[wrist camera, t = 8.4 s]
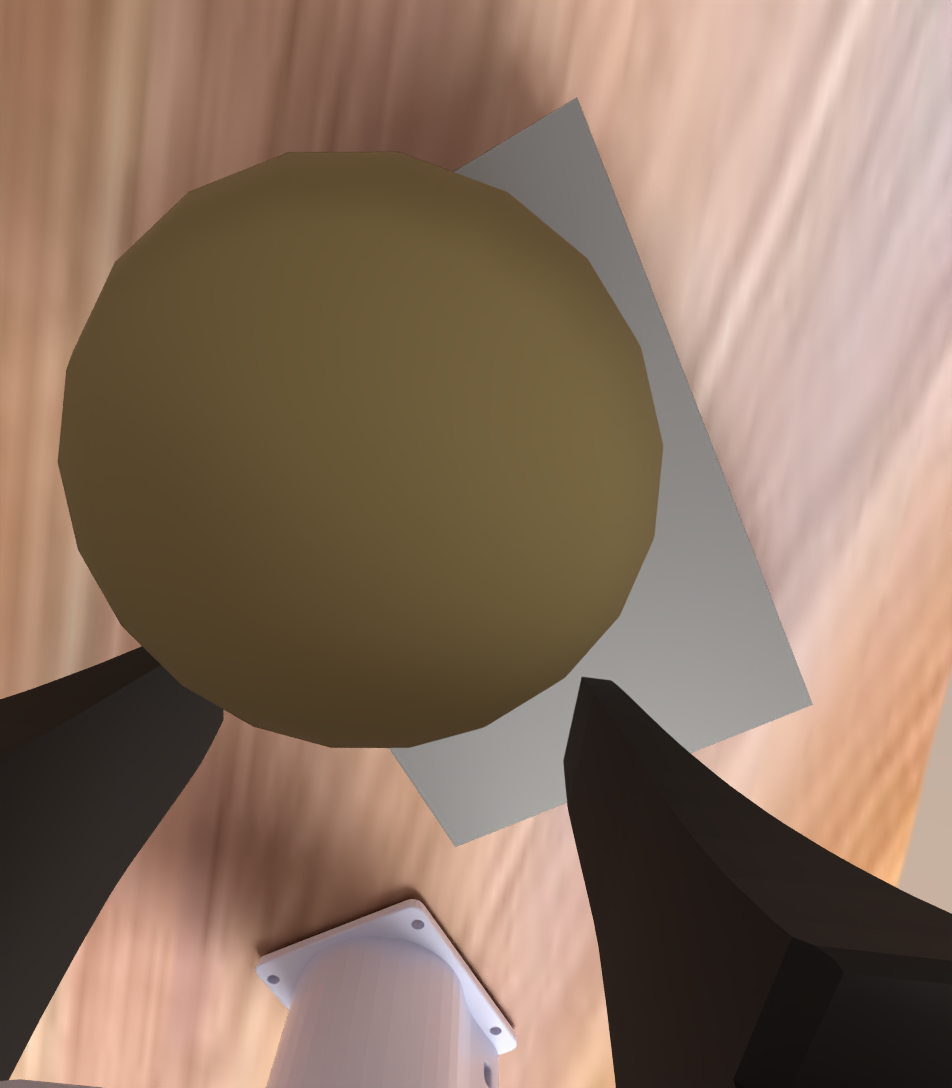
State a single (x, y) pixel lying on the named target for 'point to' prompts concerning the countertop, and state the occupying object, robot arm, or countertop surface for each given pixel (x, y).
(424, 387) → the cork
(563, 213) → the gray flat panel
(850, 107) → the countertop surface
